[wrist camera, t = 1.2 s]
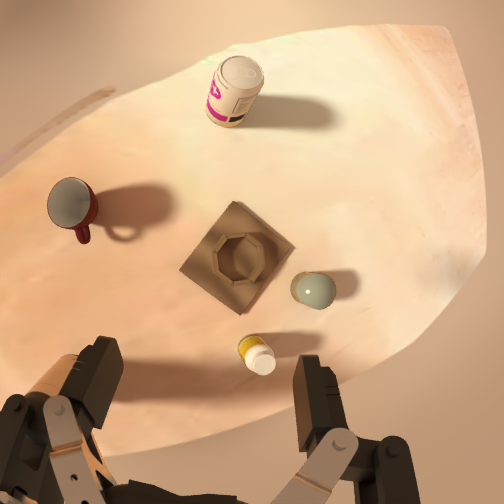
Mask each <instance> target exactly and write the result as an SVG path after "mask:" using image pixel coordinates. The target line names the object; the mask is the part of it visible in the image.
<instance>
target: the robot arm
mask: <svg viewBox="0 0 504 504" xmlns="http://www.w3.org/2000/svg"><path fill="white" fill-rule="evenodd" d="M122 372H123V359H122V356H121V353H120V350H119V347H118V344H117V341H116V339H115V338H111V337H105V336H98V337H97V339H96V341H95V343H94V344H93V346H92V345H88V346H87V347H86V348H84V349H83V350H82V351H81V352H80V354H79V356H75V355H65V356H63V357H61V358H60V359H59V360H58V361H57V362H56V363H55V364H54V365H53V366H52V367H51V368H50V369H49V370H48V371H47V372H46V373H45V374H44V375H43V376H42V378H41V379H40V380H39V381H38V382H37V383H36V384H35V385H34V386H33V387H32V388H31V389H30V390H29V392H28V393H27V394H26V395H25V396H23V395H20V394H14V395H12V396H10V397H9V398H8V399H7V400H6V402H5V404H4V406H3V408H2V410H1V411H0V504H64V501H65V503H66V504H248V503H245V502H242V501H239V500H237V496H231V495H217V494H202V495H191V496H179V495H176V494H174V493H171V492H169V491H166V490H164V489H162V488H159V487H157V486H155V485H151V484H146V483H142V482H138V481H133V480H129V483H128V484H121V485H117V483H116V481H115V479H114V478H113V476H112V475H111V473H110V472H109V470H108V469H107V466H106V464H105V462H104V460H103V458H102V455H101V453H100V450H99V448H98V446H97V443H96V441H95V438H94V435H93V433H92V432H91V431H92V429H93V427H94V428H97V429H102V426H103V423H104V420H105V417H106V415H107V412H108V409H109V406H110V404H111V401H112V398H113V396H114V393H115V391H116V388H117V385H118V383H119V380H120V378H121V375H122ZM293 394H294V403H295V413H296V423H297V433H298V443H299V452H307V461H306V462H305V463H304V465H303V466H302V467H301V469H300V470H299V471H298V472H297V473H296V474H295V476H294V477H293V478H292V479H291V480H290V482H289V483H288V484H287V485H286V486H285V488H284V489H283V490H282V491H281V492H280V494H279V495H278V496H277V497H276V498H275V499H274V500H273V501H272V502H271V504H325V502H326V501H327V500H328V498H329V497H330V495H331V492H332V489H333V488H334V486H335V484H336V483H337V482H338V480H339V479H341V480H347V481H353V483H354V493H355V504H421V503H420V497H419V492H418V487H417V482H416V477H415V472H414V467H413V463H412V458H411V454H410V450H409V446H408V444H407V443H406V441H405V440H404V439H402V438H401V437H398V436H388V437H386V438H384V439H383V440H382V441H374V440H368V439H363V438H360V437H357V436H356V435H355V434H354V433H353V432H352V431H350V430H349V428H348V426H347V423H346V418H345V413H344V409H343V405H342V400H341V397H340V392H339V388H338V383H337V379H336V375H335V374H334V373H333V371H332V370H331V369H330V367H321V366H320V361H319V357H318V355H300V356H299V359H298V363H297V366H296V370H295V374H294V378H293Z"/></svg>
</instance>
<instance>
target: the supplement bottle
mask: <svg viewBox="0 0 504 504" xmlns="http://www.w3.org/2000/svg"><path fill="white" fill-rule="evenodd" d="M238 353H239V355H240V356H241V358H242V359H243V361H244V363H245V364H246V366H247V367H248V368H249V369H250V370H251V371H253V372H256V373H257V374H259V375H268V374H270V373H271V372H272V371H273V370H274V369H275V366H276V361H275V356H274V352H273V350H272V349H271V348H270V347H269V346H268V345H267V344H266V343H265V342H264V341H263V340H262V339H261V338H260V337H259V336H257V335H254V334H250V335H246V336H244V337H243V338H242V339H241V340H240V341H239V343H238Z"/></svg>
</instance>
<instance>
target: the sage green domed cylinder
mask: <svg viewBox="0 0 504 504" xmlns="http://www.w3.org/2000/svg"><path fill="white" fill-rule="evenodd" d="M290 289H291V294H292V296H293V298H294V299H295V300H296V301H297V302H299V303H302V304H304V305H307V306H309V307H312V308H314V309H318V310H321V309H325V308H327V307H328V306H330V305H331V304H332V302H333V301H334V299H335V296H336V286H335V283H334V281H333V280H332V279H331V278H330V277H329V276H327V275H322V274H316V273H310V272H302V273H299V274H298V275H296V276H295V278H294V279H293V280H292V283H291V288H290Z"/></svg>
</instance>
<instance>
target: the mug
mask: <svg viewBox="0 0 504 504" xmlns="http://www.w3.org/2000/svg"><path fill="white" fill-rule="evenodd" d="M47 209H48V214H49V216H50V218H51V220H52V221H53V222H54V223H55V224H56V225H57V226H59V227H62V228H65V229H72V230H75V233H76V236H77V239H78V241H79V242H80V243H81V244H87V243H88V242H89V241H90V230H89V226H88V225H89V224H90V223H91V222H92V221H93V220H94V219H95V217H96V215H97V212H98V202H97V199H96V197H95V195H94V192H93V191H92V189H91V188H90V186H89V185H88V184H86V183H85V182H84V181H82V180H80V179H78V178H74V177H69V178H65V179H62V180H61V181H59V182H58V183H57V184H56V185H55V186H54V187H53V188H52V190H51V192H50V194H49V197H48V202H47Z"/></svg>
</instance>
